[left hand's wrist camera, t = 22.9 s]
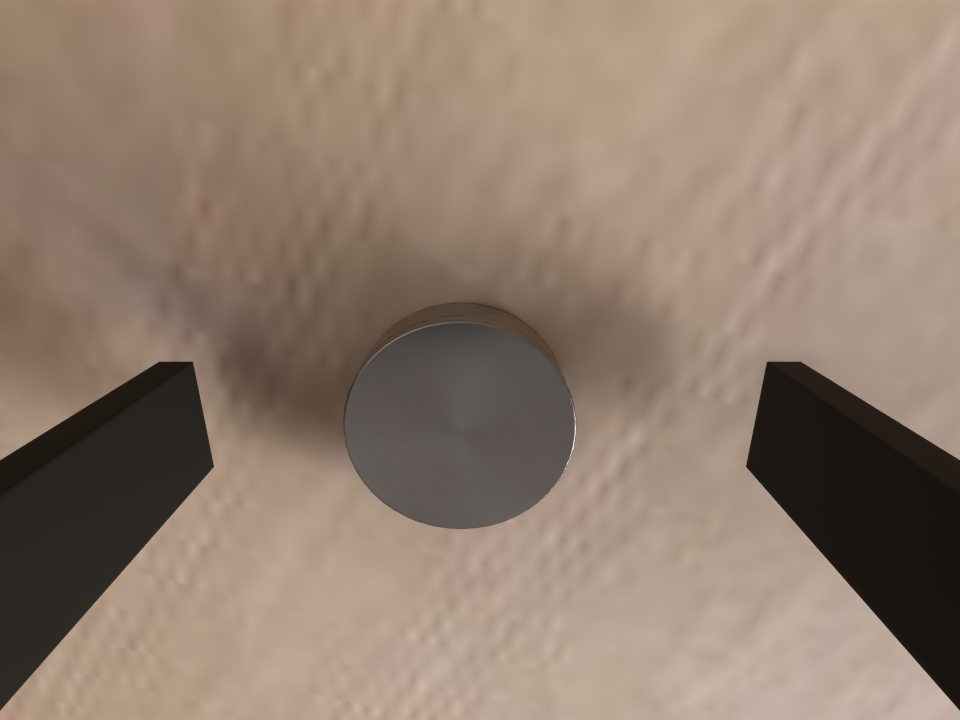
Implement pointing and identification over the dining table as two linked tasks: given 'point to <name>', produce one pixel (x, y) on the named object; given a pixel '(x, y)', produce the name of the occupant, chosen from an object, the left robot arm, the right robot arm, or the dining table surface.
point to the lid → (460, 417)
